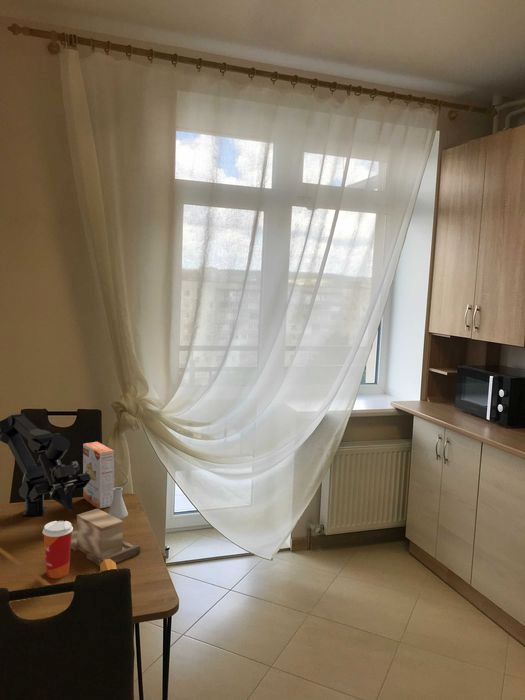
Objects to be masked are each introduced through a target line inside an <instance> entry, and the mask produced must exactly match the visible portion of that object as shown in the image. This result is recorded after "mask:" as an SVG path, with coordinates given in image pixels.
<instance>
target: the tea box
mask: <svg viewBox="0 0 525 700" xmlns="http://www.w3.org/2000/svg"><path fill="white" fill-rule="evenodd" d="M108 513H109V512H108ZM108 513H107V512H106V511H103V510H102V509H101V508H100V509H99V508H98V507H96V508H94V509H92V510H89V511H85V512H82V513H79V514H76V530H77V545H79V546H81V547H82V548H84V549H86V550H87V551H89V552H91V553H92V554H94V555H96V556H97V557H99V558H101V559H102V558H104V557H107V556H109V555H112V554H115V553H117V552H120V551H122V549H123V540H124V539H123V536H124V535H123V532H124V531H123V530H124V521H123V520H122V519H118V518H116V517H114V516H112V515H110V514H108Z"/></svg>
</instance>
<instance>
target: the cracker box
mask: <svg viewBox="0 0 525 700" xmlns="http://www.w3.org/2000/svg"><path fill="white" fill-rule="evenodd" d="M82 446H83V447H82V452H83V453H82V456H83V457H82V465H83V466H82V467H83V468H82V470H83V471H82V474H83V473H88V474H89V475H90V477H91V480H90V481H89V483H88V484H87V485H86V486H85V487H84V488H82V490H83V491H82V493H83V496H82V498H83V499H84V500H85V501H87V502H88V503H89V504H91V505H92V506H93V507H95V508H98V509H100V510H101V509H105V508H108V507H109V508H110V507H111V504H112V501H113V496H114V491H113V488H115V450H113V449H111V448H110V447H107V446H106V445H104V444H103V443H101V442H99V441H94V442H86V443H83V445H82Z"/></svg>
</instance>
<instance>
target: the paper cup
mask: <svg viewBox="0 0 525 700" xmlns="http://www.w3.org/2000/svg"><path fill="white" fill-rule="evenodd" d="M73 531H74V527H73V525H72V523H71V522H70V521H68V520H65V521H64V520H58V521H57V520H54V521H53V520H52V521H50V522H48V523H46V524H45V525H44V526H43V530H42V531H41V532H42V535H43V542H44V557H45V558H44V559H45V570H46V571H45V572H46V576H47V577H48V578H50V579H61V578H63V577H65V576H67V575H69V573H70V566H71V564H70V563H71V550H72V549H71V536H72V532H73Z"/></svg>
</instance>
